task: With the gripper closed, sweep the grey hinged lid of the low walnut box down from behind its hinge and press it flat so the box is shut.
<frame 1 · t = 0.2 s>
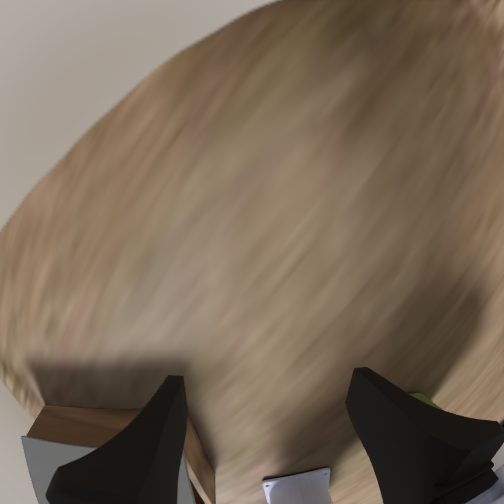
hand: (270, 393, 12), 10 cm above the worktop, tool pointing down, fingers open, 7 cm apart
box base: (129, 447, 25), on the worktop
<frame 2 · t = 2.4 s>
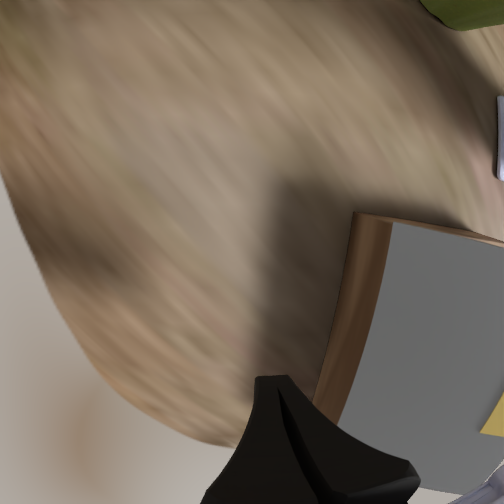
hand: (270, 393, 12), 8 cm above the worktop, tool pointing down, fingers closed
box base: (400, 323, 21), on the worktop
lid: (456, 395, 12), point 9 cm above the worktop, hinge at 38.0°
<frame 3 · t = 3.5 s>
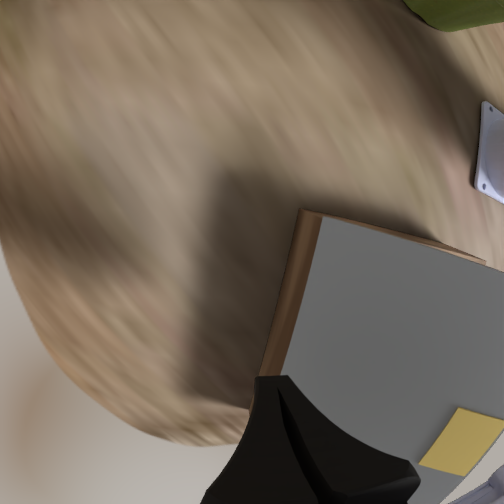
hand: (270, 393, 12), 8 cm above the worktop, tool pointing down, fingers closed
box base: (350, 333, 21), on the worktop
lid: (390, 418, 12), point 9 cm above the worktop, hinge at 38.0°
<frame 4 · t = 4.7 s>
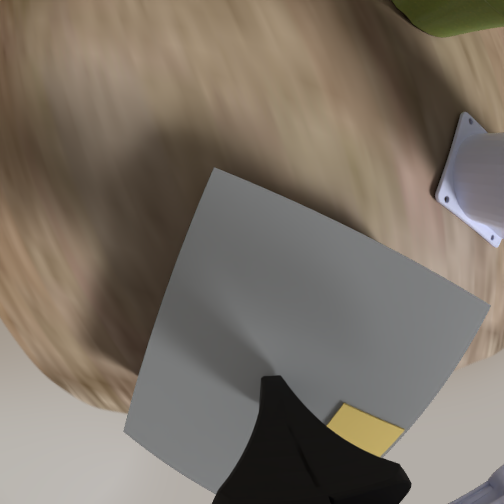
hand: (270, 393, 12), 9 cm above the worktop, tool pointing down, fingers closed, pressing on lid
lid: (265, 403, 12), point 8 cm above the worktop, hinge at 25.7°, touching gripper
plant pot: (420, 2, 15), on the worktop
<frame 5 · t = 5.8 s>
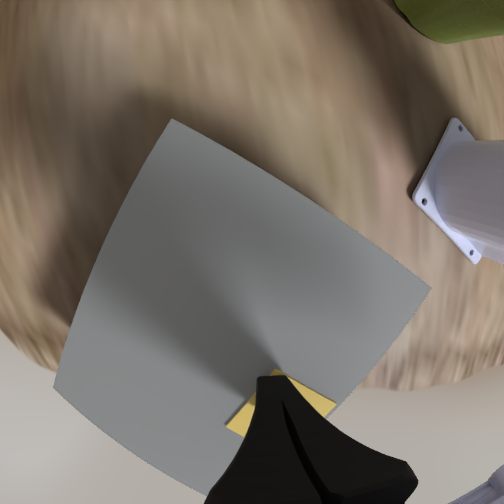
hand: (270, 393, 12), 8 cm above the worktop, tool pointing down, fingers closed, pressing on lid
lid: (195, 362, 12), point 7 cm above the worktop, hinge at 15.4°, touching gripper
plant pot: (425, 8, 15), on the worktop
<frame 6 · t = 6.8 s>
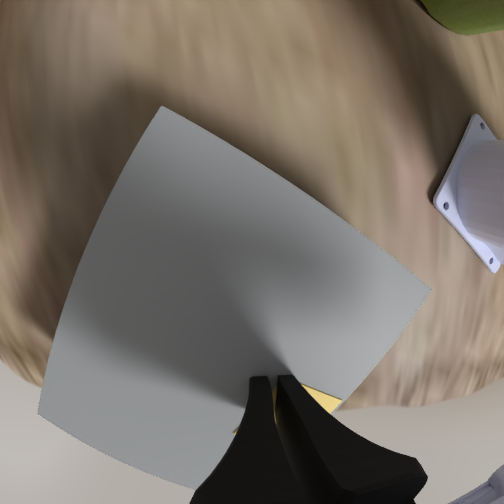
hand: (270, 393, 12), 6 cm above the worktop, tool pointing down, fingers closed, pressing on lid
lid: (199, 378, 11), point 6 cm above the worktop, hinge at 1.3°, touching gripper
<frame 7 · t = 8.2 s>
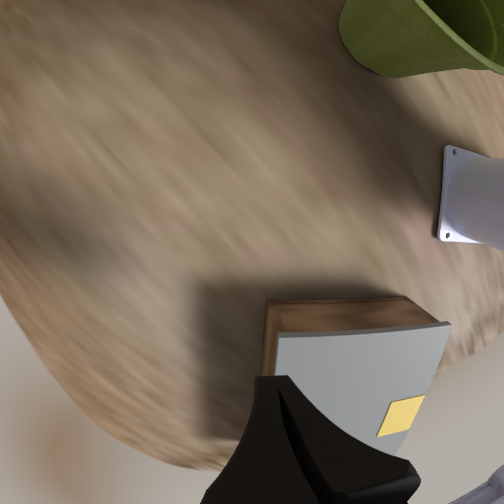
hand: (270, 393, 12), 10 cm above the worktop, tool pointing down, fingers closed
box base: (327, 381, 24), on the worktop
lid: (350, 423, 19), point 6 cm above the worktop, hinge at 1.2°
plant pot: (378, 38, 18), on the worktop
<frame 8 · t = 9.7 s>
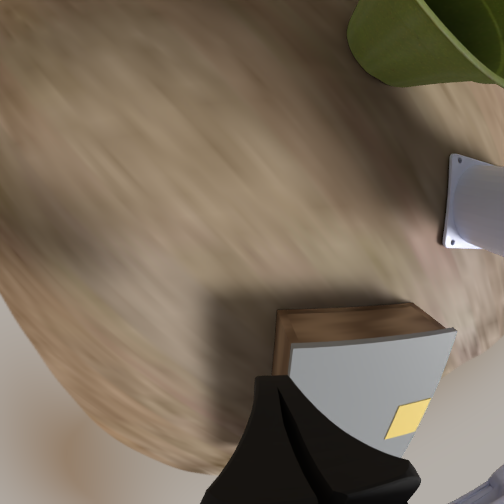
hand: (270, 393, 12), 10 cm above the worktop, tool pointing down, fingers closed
box base: (336, 386, 25), on the worktop
lid: (359, 427, 19), point 6 cm above the worktop, hinge at 1.2°
plant pot: (385, 46, 18), on the worktop
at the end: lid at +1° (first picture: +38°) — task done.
